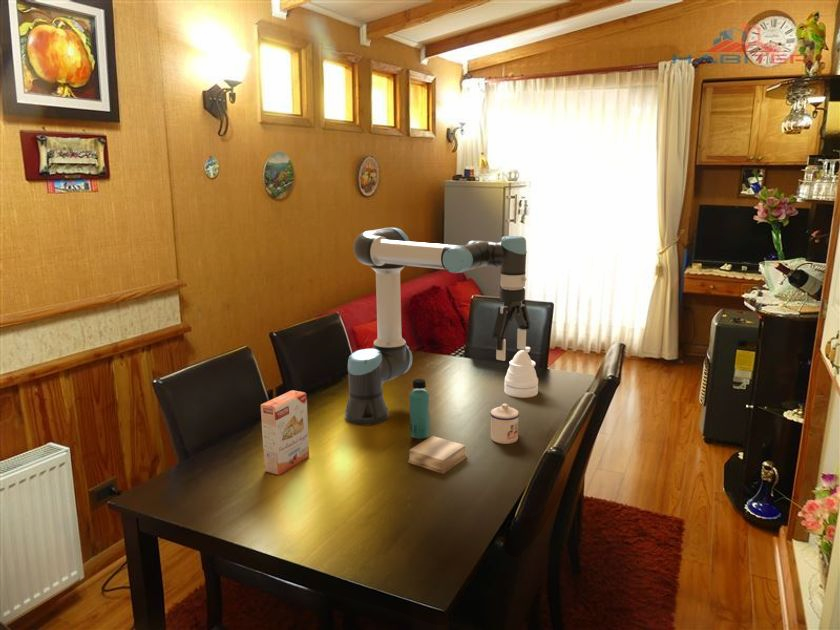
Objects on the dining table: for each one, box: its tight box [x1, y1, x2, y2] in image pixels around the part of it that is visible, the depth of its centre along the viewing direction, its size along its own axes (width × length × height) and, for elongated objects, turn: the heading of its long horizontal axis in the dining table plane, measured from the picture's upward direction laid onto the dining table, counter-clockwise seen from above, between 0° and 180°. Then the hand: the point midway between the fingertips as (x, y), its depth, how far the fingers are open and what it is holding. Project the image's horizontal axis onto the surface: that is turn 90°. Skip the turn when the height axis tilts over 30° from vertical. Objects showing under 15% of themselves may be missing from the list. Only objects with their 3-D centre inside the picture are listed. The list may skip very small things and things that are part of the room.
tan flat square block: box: [407, 435, 467, 475], centre depth 186 cm, size 13×13×4 cm
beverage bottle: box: [409, 378, 431, 439], centre depth 199 cm, size 6×7×20 cm
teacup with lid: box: [490, 403, 520, 445], centre depth 201 cm, size 12×9×12 cm
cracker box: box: [260, 389, 310, 476], centre depth 183 cm, size 14×6×21 cm, turn 151°
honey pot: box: [503, 346, 539, 399], centre depth 240 cm, size 13×13×18 cm
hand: (511, 354), depth 195 cm, fingers open, 13 cm apart
